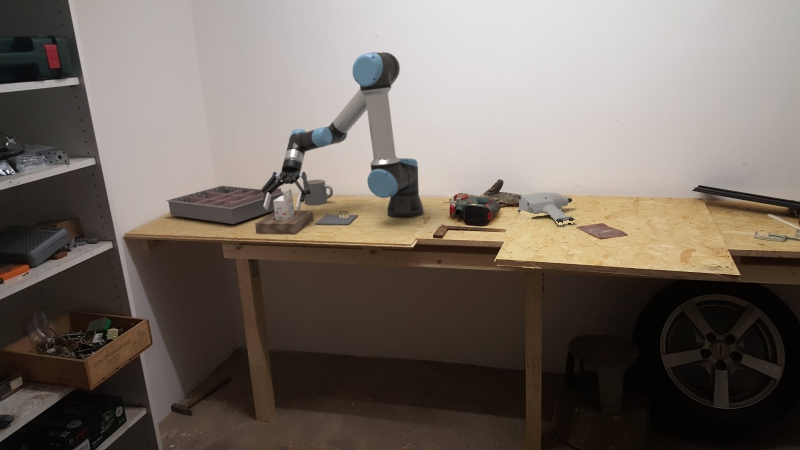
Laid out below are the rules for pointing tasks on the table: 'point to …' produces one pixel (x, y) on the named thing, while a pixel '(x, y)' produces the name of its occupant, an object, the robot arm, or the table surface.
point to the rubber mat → (335, 220)
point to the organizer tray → (223, 204)
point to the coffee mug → (317, 192)
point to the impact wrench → (545, 205)
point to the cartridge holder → (284, 223)
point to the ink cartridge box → (284, 206)
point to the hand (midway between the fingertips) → (281, 208)
